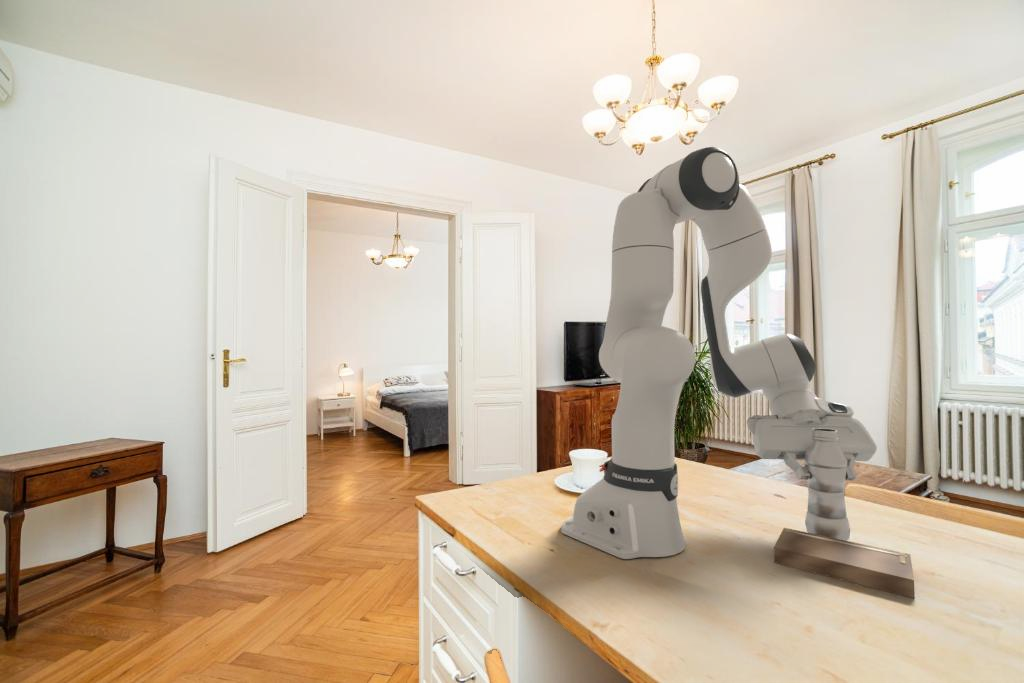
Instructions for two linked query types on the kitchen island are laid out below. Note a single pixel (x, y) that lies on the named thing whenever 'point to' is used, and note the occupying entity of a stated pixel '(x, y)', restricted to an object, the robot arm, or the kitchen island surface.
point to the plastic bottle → (826, 486)
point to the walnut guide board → (846, 561)
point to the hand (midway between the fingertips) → (827, 478)
